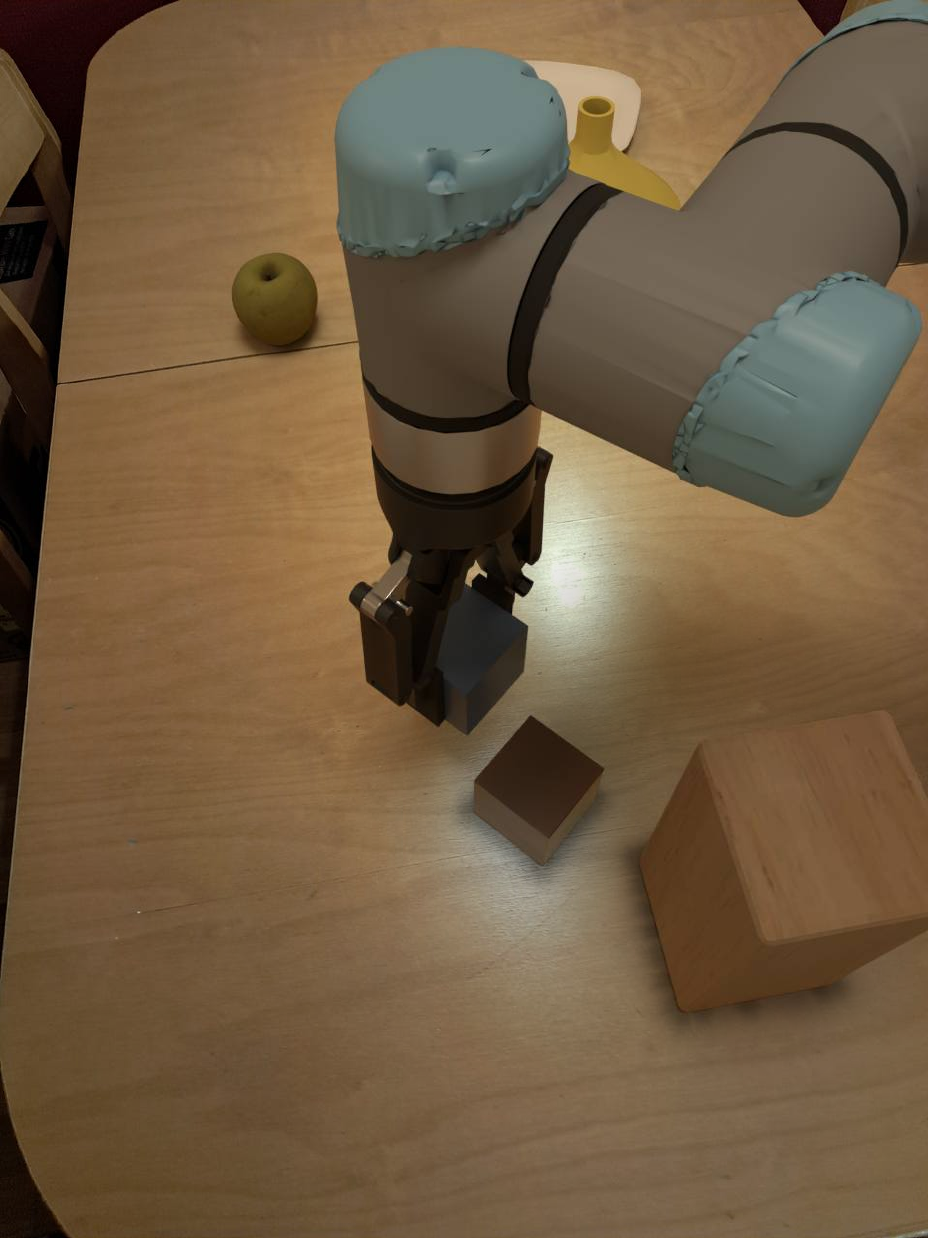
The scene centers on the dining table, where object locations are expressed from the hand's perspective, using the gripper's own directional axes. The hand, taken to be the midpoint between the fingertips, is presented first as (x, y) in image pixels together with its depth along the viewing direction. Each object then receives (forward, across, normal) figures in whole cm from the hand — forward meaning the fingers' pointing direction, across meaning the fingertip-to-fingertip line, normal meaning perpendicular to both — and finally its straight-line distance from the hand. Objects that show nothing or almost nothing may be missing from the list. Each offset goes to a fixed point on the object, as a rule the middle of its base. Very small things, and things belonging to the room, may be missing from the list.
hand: (458, 674), depth 62 cm
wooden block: (+8, 0, +22) cm, 24 cm away
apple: (+8, -21, -39) cm, 45 cm away
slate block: (0, 0, 0) cm, 0 cm away
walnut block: (+8, +2, +8) cm, 11 cm away
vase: (+8, -42, -20) cm, 47 cm away
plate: (+8, -65, -39) cm, 76 cm away
